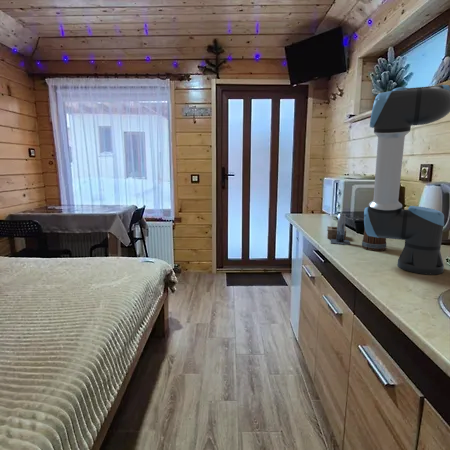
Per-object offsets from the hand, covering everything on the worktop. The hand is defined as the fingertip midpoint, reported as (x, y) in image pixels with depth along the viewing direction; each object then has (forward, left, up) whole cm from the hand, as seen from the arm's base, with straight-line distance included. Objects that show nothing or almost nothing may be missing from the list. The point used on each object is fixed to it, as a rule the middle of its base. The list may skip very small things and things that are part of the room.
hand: (392, 168), depth 157 cm
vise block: (+2, +24, -37) cm, 44 cm away
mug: (-13, +8, -37) cm, 40 cm away
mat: (-8, +22, -37) cm, 44 cm away
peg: (-8, +22, -36) cm, 43 cm away
